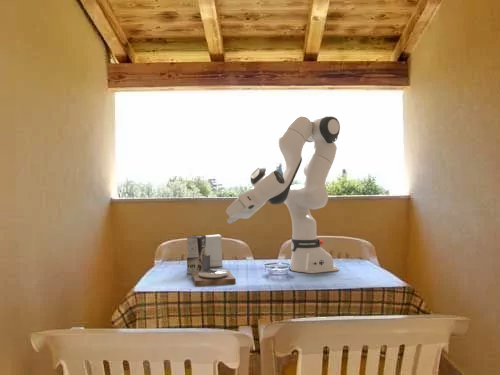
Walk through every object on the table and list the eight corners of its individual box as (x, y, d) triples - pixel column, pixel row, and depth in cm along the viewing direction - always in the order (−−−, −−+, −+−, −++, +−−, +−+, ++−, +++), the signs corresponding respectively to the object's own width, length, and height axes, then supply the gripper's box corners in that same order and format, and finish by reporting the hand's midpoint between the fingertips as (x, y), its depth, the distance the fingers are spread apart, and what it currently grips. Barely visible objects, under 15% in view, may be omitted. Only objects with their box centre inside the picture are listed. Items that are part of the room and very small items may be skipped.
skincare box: (220, 264, 220) (220, 234, 220) (222, 266, 214) (222, 235, 214) (203, 265, 218) (203, 234, 218) (205, 267, 212) (204, 236, 212)
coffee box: (200, 274, 197) (200, 237, 197) (186, 273, 199) (186, 237, 198) (206, 270, 206) (206, 235, 206) (193, 269, 208) (192, 234, 207)
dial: (233, 275, 185) (233, 255, 185) (212, 280, 177) (212, 259, 176) (214, 271, 193) (214, 252, 193) (192, 275, 185) (192, 256, 184)
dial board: (229, 275, 195) (229, 270, 195) (235, 283, 180) (235, 278, 180) (192, 277, 191) (192, 272, 191) (195, 285, 177) (195, 280, 176)
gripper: (256, 197, 199) (234, 217, 202) (238, 193, 180) (214, 215, 183) (265, 208, 197) (242, 228, 200) (247, 205, 178) (223, 227, 181)
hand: (228, 222), depth 191 cm, fingers closed
